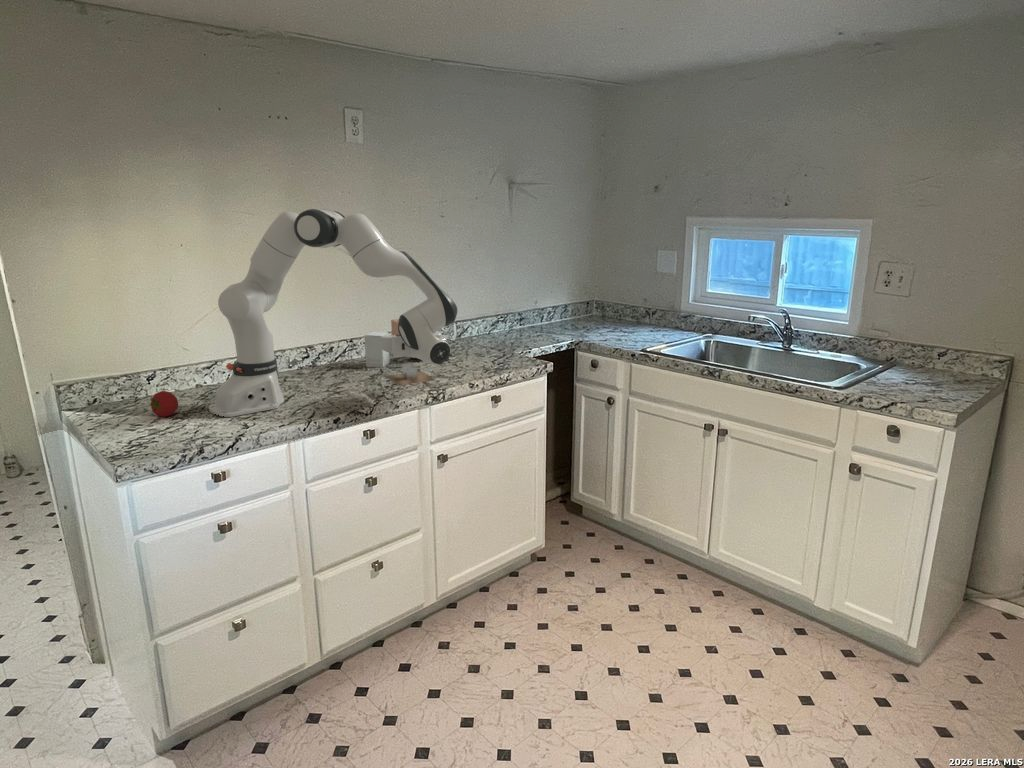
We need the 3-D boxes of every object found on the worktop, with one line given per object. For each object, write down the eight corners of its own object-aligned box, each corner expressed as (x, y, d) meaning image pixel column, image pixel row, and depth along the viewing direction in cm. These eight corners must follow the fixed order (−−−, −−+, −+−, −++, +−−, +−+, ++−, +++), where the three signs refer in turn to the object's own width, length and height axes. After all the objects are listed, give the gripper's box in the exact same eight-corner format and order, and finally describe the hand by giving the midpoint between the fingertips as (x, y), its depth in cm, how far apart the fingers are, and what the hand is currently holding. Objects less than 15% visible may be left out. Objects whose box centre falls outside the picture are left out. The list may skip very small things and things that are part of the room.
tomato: (174, 385, 199) (149, 386, 192) (186, 403, 196) (161, 405, 190) (164, 402, 202) (139, 404, 196) (175, 421, 200) (150, 424, 193)
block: (407, 379, 232) (406, 369, 231) (402, 377, 236) (402, 366, 234) (417, 378, 234) (417, 367, 233) (413, 375, 237) (412, 365, 236)
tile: (399, 388, 226) (399, 385, 226) (384, 378, 237) (384, 376, 237) (436, 382, 233) (436, 379, 233) (420, 373, 244) (420, 370, 244)
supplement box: (383, 367, 253) (381, 335, 249) (365, 366, 254) (363, 335, 251) (390, 363, 260) (388, 332, 256) (373, 362, 261) (371, 331, 258)
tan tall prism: (399, 355, 214) (397, 319, 211) (393, 352, 219) (390, 316, 215) (415, 353, 217) (414, 317, 214) (409, 350, 222) (407, 315, 218)
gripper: (448, 330, 210) (430, 323, 221) (388, 337, 200) (372, 329, 211) (449, 349, 212) (431, 341, 223) (389, 357, 202) (374, 349, 213)
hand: (402, 336), depth 217 cm, fingers closed on tan tall prism, 6 cm apart
